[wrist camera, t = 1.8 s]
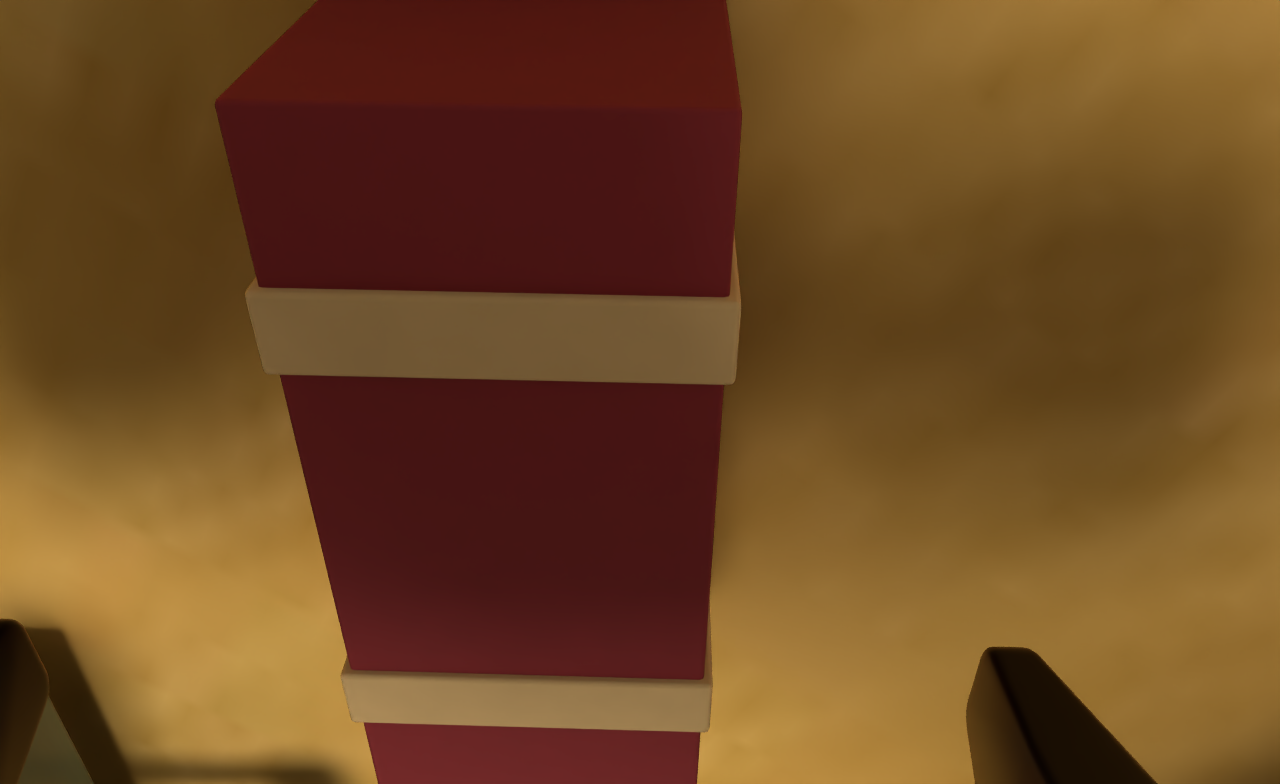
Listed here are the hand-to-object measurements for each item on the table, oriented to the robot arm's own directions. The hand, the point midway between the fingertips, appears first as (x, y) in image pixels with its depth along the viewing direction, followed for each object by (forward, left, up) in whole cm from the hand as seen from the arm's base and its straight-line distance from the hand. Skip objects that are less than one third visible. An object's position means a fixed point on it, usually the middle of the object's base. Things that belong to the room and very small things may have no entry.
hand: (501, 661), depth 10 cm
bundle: (0, 0, -5) cm, 5 cm away
